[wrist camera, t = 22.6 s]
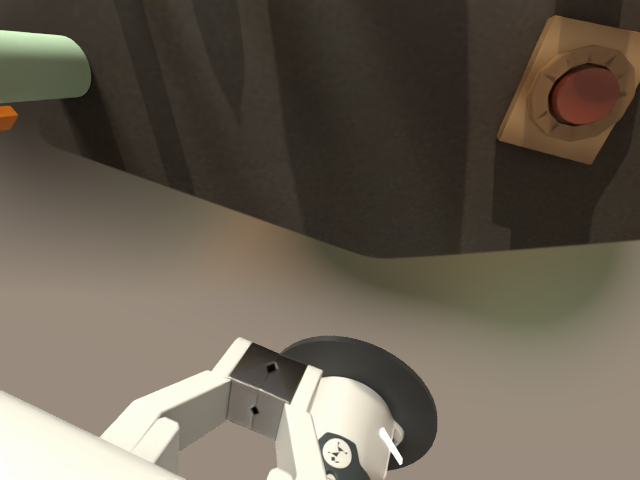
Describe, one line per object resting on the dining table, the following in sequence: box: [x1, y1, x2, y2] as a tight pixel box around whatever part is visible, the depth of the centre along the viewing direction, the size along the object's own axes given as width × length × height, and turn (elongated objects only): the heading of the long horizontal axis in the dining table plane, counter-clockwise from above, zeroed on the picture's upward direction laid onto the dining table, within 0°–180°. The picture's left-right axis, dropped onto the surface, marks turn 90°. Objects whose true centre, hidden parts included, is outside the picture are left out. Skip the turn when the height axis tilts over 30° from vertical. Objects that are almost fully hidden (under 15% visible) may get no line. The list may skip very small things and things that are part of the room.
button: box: [551, 68, 620, 124], centre depth 28 cm, size 4×4×2 cm
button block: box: [496, 15, 640, 165], centre depth 30 cm, size 10×8×4 cm
